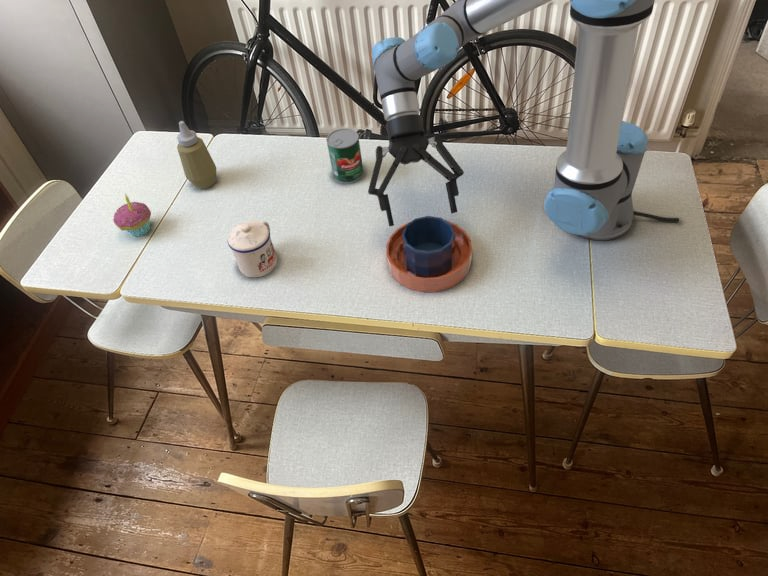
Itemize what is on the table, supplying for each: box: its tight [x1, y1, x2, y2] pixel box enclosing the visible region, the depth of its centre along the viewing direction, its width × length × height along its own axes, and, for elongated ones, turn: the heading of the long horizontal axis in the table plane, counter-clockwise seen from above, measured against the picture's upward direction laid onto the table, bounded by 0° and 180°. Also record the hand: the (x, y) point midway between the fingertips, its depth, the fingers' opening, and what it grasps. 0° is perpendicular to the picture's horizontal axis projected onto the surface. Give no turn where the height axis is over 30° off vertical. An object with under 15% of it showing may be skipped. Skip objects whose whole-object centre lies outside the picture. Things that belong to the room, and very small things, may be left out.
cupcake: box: [112, 193, 152, 237], centre depth 136 cm, size 9×8×12 cm
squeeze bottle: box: [176, 120, 217, 190], centre depth 144 cm, size 8×8×18 cm
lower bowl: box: [385, 219, 473, 293], centre depth 124 cm, size 18×18×4 cm
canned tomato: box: [325, 127, 365, 184], centre depth 144 cm, size 8×8×11 cm
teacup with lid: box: [227, 220, 278, 278], centre depth 126 cm, size 12×9×12 cm
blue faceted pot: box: [402, 215, 455, 278], centre depth 122 cm, size 11×11×8 cm
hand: (423, 219), depth 121 cm, fingers open, 13 cm apart
